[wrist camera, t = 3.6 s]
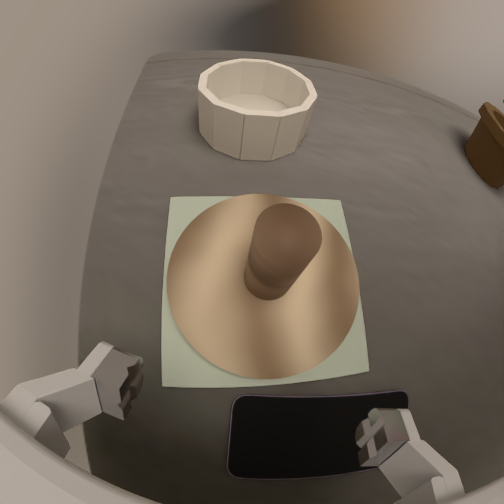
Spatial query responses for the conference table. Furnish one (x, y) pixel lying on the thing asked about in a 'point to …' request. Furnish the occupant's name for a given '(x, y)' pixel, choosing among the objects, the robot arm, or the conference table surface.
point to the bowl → (254, 108)
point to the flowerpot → (488, 146)
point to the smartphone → (301, 434)
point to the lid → (262, 286)
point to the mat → (211, 376)
